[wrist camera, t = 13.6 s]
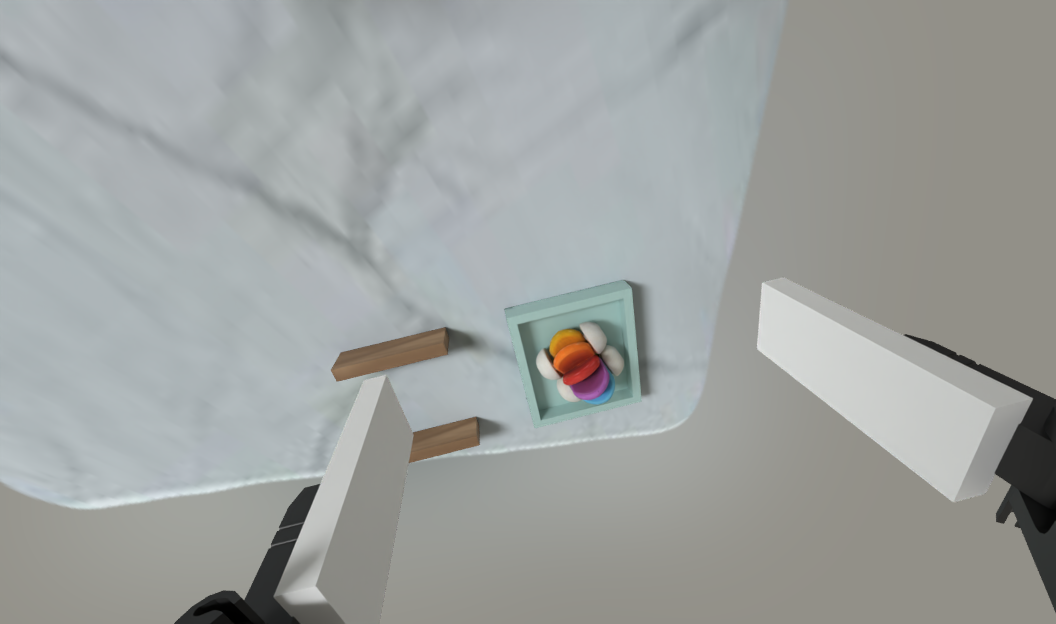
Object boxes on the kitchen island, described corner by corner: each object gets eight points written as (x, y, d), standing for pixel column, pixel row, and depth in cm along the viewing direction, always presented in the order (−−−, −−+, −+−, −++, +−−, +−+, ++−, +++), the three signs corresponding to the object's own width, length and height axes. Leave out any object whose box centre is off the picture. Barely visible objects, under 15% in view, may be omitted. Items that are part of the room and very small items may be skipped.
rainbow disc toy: (584, 305, 44) (604, 336, 38) (624, 359, 49) (648, 396, 42) (525, 346, 46) (534, 383, 39) (568, 396, 50) (583, 437, 43)
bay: (340, 352, 44) (330, 370, 41) (445, 327, 44) (443, 342, 41) (388, 448, 50) (383, 469, 47) (479, 425, 51) (479, 445, 48)
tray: (504, 308, 44) (506, 318, 42) (623, 279, 44) (631, 288, 42) (531, 415, 51) (534, 428, 49) (634, 389, 52) (641, 401, 49)
